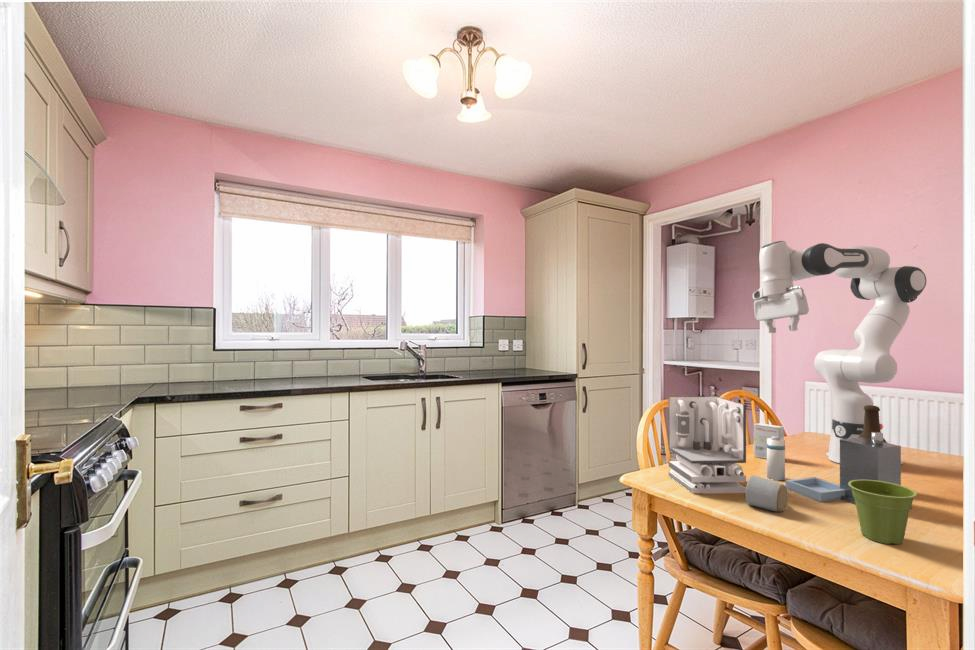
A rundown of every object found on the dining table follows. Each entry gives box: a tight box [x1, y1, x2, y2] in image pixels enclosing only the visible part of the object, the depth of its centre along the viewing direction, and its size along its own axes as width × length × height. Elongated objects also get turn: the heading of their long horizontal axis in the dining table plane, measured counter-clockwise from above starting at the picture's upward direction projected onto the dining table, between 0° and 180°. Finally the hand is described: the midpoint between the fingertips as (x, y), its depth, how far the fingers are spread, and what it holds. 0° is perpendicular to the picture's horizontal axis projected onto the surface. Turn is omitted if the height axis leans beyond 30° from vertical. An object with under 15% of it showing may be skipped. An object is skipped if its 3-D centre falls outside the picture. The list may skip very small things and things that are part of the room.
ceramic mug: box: [745, 474, 789, 513], centre depth 126 cm, size 11×8×8 cm
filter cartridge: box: [766, 436, 786, 481], centre depth 149 cm, size 5×5×13 cm
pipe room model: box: [668, 396, 747, 494], centre depth 142 cm, size 16×19×25 cm
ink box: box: [753, 422, 785, 460], centre depth 172 cm, size 9×5×12 cm, turn 42°
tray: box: [785, 476, 845, 503], centre depth 136 cm, size 11×11×2 cm
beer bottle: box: [858, 404, 888, 443], centre depth 140 cm, size 8×8×24 cm
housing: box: [839, 432, 912, 510], centre depth 129 cm, size 11×13×19 cm
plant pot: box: [848, 480, 918, 545], centre depth 107 cm, size 12×12×11 cm
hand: (782, 331), depth 158 cm, fingers open, 8 cm apart
